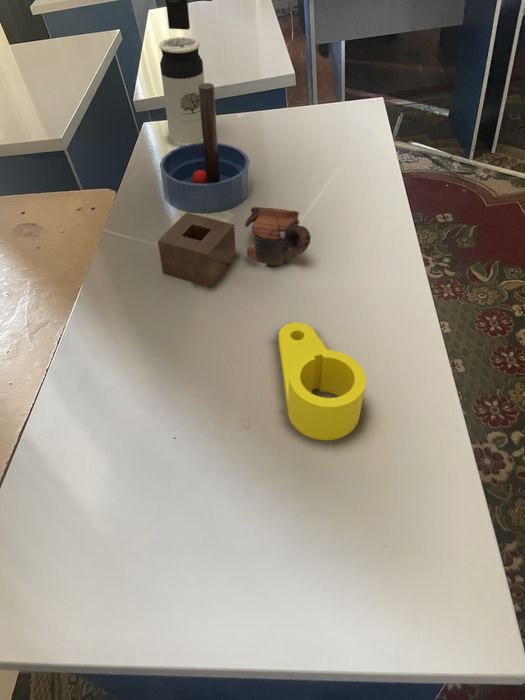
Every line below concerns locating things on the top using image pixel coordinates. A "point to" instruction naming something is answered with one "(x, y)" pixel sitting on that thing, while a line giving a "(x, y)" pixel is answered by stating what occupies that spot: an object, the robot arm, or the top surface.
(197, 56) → the travel mug
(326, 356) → the crank
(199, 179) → the ball
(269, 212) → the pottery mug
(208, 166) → the stick
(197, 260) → the holder
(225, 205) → the bowl
